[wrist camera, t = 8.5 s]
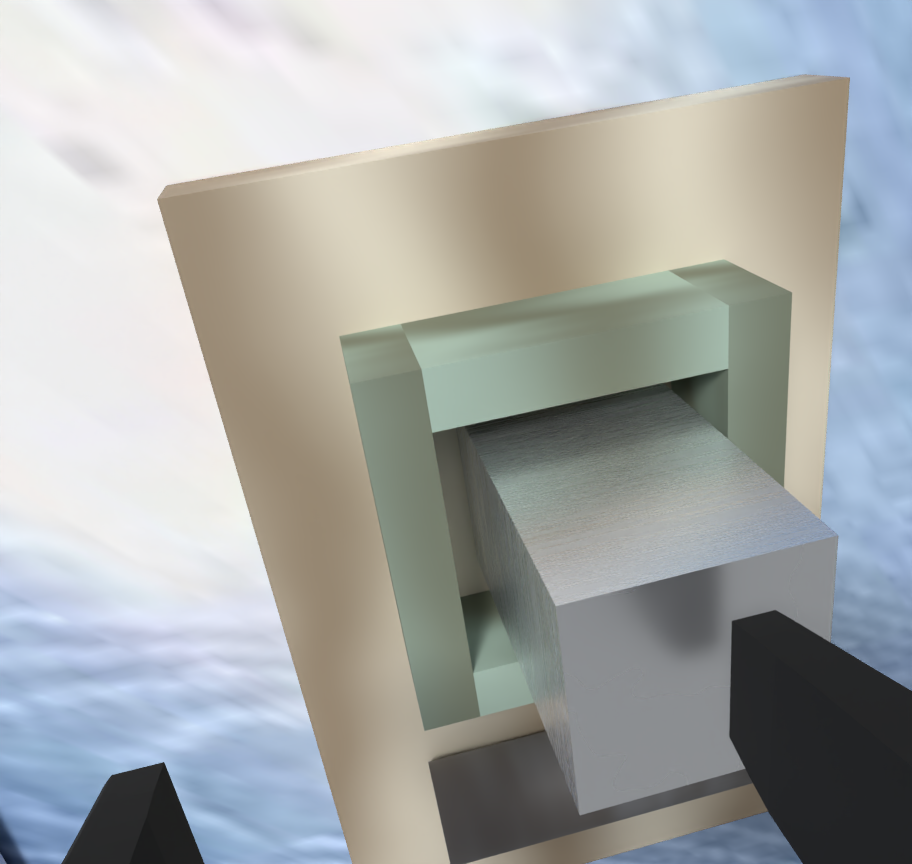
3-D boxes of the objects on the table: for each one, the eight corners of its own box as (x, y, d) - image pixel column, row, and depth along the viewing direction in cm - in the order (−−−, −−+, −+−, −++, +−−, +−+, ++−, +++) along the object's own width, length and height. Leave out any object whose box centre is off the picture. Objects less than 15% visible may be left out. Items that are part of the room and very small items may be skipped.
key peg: (477, 559, 19) (579, 815, 13) (451, 400, 17) (556, 605, 11) (645, 519, 19) (823, 746, 13) (636, 359, 18) (837, 535, 11)
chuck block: (364, 876, 25) (381, 1017, 21) (166, 185, 16) (137, 228, 12) (774, 763, 26) (854, 876, 23) (804, 74, 17) (943, 84, 14)
